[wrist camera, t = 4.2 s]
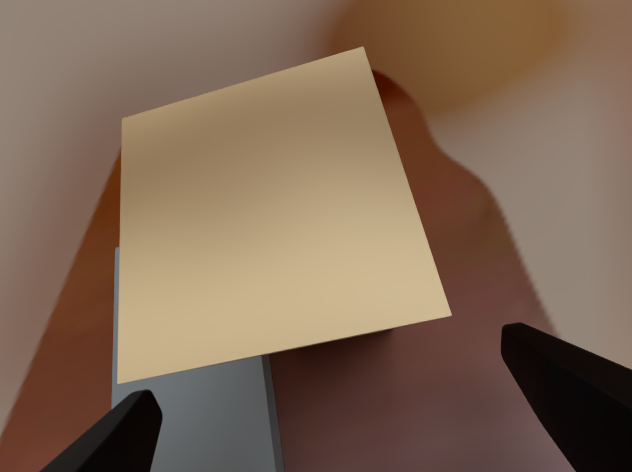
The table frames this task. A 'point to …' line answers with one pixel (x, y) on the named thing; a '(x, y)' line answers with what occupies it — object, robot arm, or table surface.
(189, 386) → the slate board
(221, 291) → the block
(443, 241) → the table surface
